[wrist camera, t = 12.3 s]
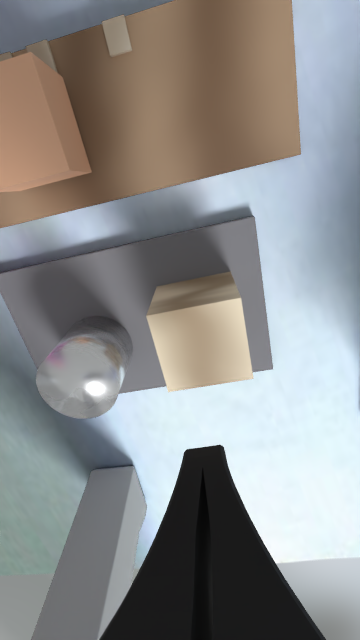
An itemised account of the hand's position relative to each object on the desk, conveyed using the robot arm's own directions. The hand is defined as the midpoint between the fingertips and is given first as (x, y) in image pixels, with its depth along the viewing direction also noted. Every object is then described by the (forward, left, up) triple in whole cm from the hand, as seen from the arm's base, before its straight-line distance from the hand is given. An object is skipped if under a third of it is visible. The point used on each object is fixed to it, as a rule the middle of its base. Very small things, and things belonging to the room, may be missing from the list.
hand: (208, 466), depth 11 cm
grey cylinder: (+7, -1, -10) cm, 12 cm away
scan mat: (+4, -2, -10) cm, 11 cm away
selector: (+6, -13, -9) cm, 17 cm away
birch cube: (0, -2, -10) cm, 10 cm away
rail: (+3, -13, -10) cm, 17 cm away
